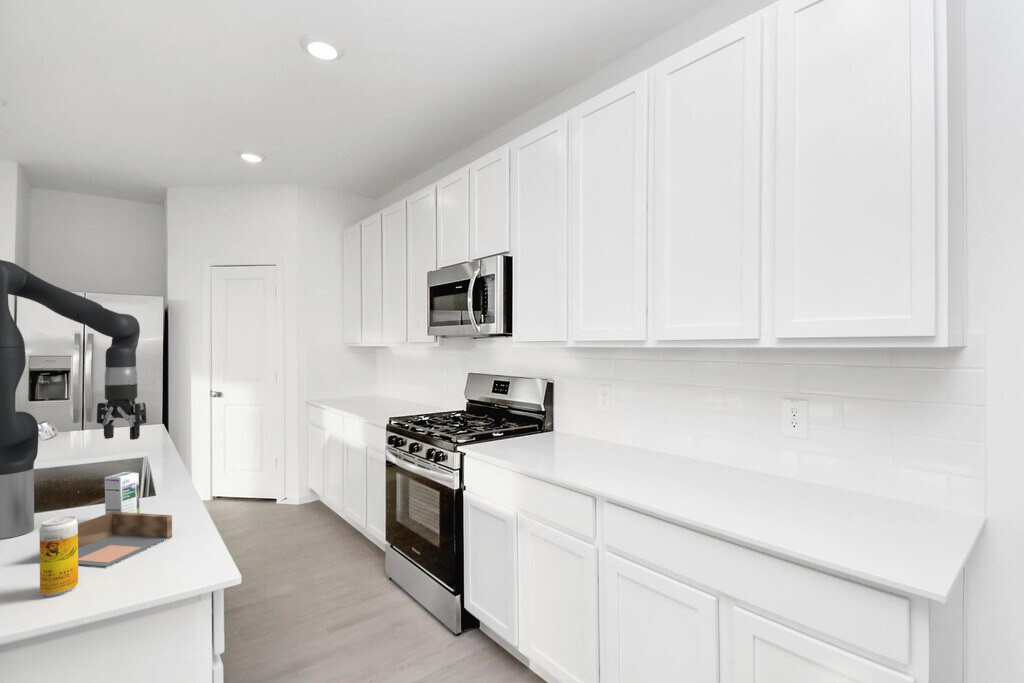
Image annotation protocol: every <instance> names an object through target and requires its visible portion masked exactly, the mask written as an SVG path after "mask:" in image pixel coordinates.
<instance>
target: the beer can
mask: <svg viewBox="0 0 1024 683" xmlns="http://www.w3.org/2000/svg"><path fill="white" fill-rule="evenodd" d="M78 524H79V522H78V520H77V518H76V516H72V515H65V516H58V517H54V518H53V517H52V518H50V519H47V520H44V521H43V522H41V526H40V527H39V530H38V531H39V593H40V594H41V595H43V596H44V597H48V598H49V597H50V598H51V597H58V596H62V595H65V594H68V593H70V592H72V591H73V590H74V589H75V588H76V587H77V585H78V584H79V565H78Z"/></svg>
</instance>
